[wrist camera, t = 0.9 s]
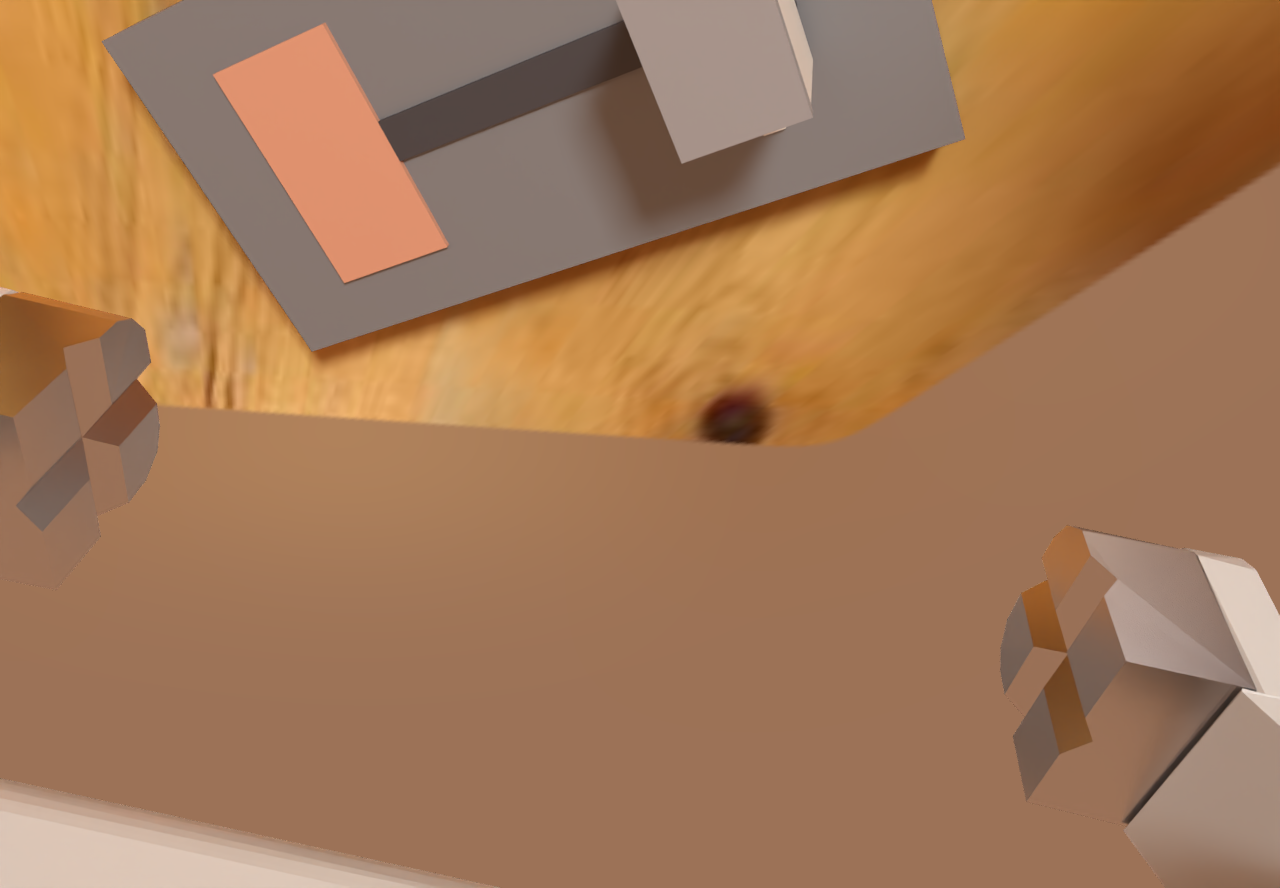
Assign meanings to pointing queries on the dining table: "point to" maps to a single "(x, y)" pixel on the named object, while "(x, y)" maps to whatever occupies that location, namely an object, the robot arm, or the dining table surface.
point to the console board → (488, 138)
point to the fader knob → (722, 68)
